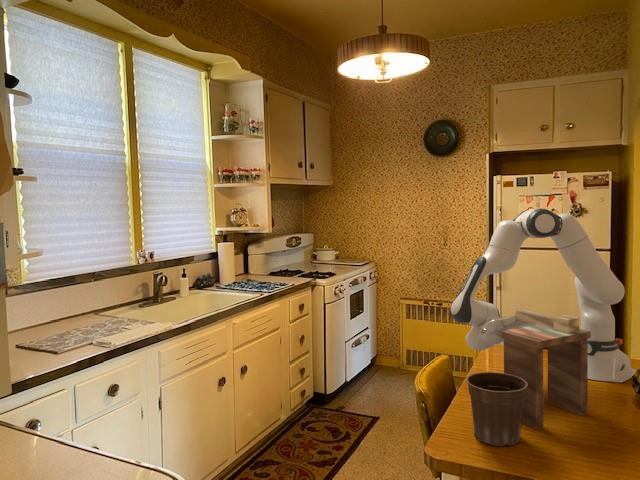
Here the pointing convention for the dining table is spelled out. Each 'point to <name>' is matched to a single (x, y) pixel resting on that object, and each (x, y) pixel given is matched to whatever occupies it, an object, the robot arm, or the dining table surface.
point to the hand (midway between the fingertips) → (526, 316)
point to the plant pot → (497, 407)
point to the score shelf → (562, 368)
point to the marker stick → (550, 321)
